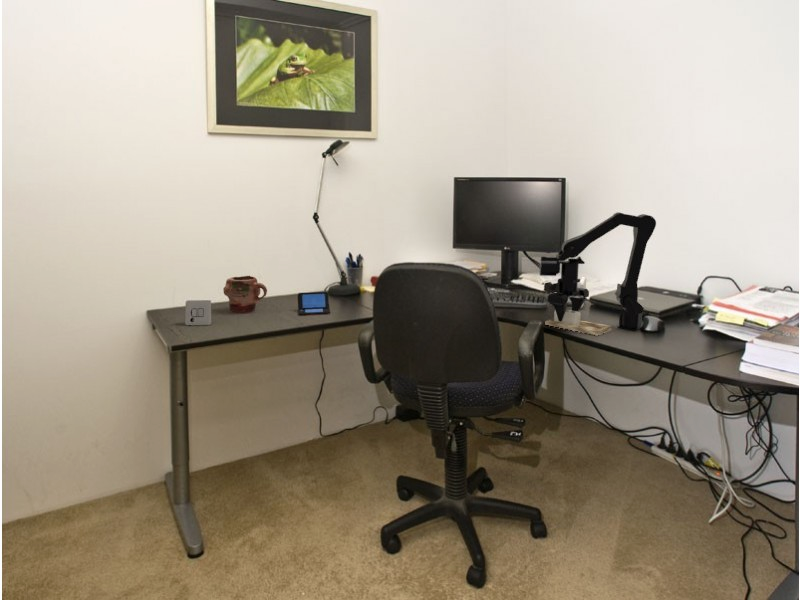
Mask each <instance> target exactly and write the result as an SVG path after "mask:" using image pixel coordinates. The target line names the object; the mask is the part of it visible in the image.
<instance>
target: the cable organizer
mask: <svg viewBox="0 0 800 600" xmlns="http://www.w3.org/2000/svg"><path fill="white" fill-rule="evenodd" d="M560 278H561V277H559V278H558V279H560ZM556 283H558V280H557V281H556ZM577 288H584V289H587V276H582V277H580V282H578V284H577ZM560 294H561V293H560ZM567 303H571V304H572V302H571V300H570V299H569V298H568V301H567ZM584 305H585V302H584V303H583V305H582V306H581V308H580V309H582V308H583V307H584Z"/></svg>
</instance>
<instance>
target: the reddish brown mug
mask: <svg viewBox="0 0 800 600" xmlns="http://www.w3.org/2000/svg"><path fill="white" fill-rule="evenodd" d="M222 289H223V294H224V296H226V297H227V298H228V300H229V303H228V306H229V311H230V312H231V313H235V314H248V313H251V312H254V311H255V309H256V304H257V303H259V302H260V301H262V300H263V299H264V298H266V296H267V294H268V293H267V292H268V289H267V287H266V285H265V284H264V283H261V282H258V279H257V278H256V276H251V275H244V276H243V275H242V276H233V277H230V278H227V279H226V281H225V286H224V287H223V288H222ZM261 289H262V292H263V294H262V296H260V295H261ZM259 296H260V297H259Z"/></svg>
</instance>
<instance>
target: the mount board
mask: <svg viewBox="0 0 800 600" xmlns="http://www.w3.org/2000/svg"><path fill="white" fill-rule="evenodd" d="M544 323H545V325H549V326H548V327H550V326H554V327H553V328H555V327H559V328H558V329H560V328H563V329H562V330H565V329H568V330H567V331H570V330H572V331H571V332H575V331H578V332H577V333H580V332H582V333H581V334H584V333H587V334H586V335H589V334H591V335H590V336H594V335H595V337H599V336H601V335H604V334H606V333H608V332H611V331H612V327H613V326H612V325H609V324H602V323H598V322H591V321H586V320H581V319H580V326H573V325H570V324H566V323H561V322H556V321H554V317H551V318H549V319H547V320H545V322H544ZM603 333H604V334H603ZM598 335H599V336H598Z"/></svg>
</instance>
